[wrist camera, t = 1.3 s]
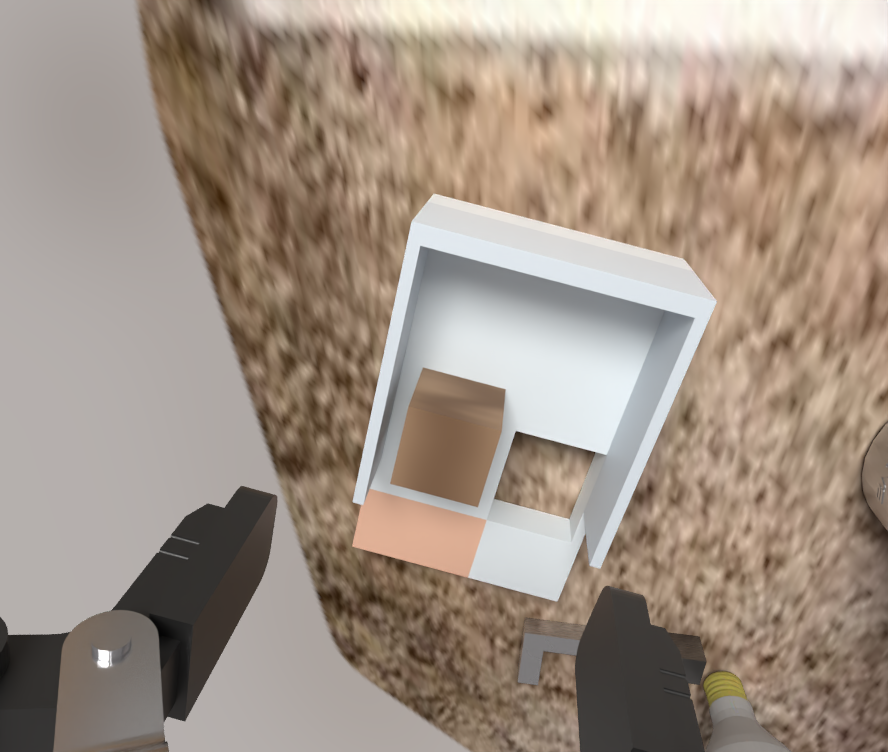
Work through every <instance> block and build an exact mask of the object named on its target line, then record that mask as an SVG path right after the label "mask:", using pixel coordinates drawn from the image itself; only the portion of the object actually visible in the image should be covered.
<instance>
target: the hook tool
mask: <svg viewBox="0 0 888 752" xmlns="http://www.w3.org/2000/svg"><path fill="white" fill-rule="evenodd" d="M585 627H586V626H585V625H578V624H570V623H563V622H555V621H548V620H540V619H533V618H525V622H524V629H523V636H522V643H521V650H520V657H519V664H518V682H519V683H526V684H533V685H538V681H539V675H540V668H541V662H542V656H543V651H547V652H554V653H562V654H569V655H577V649H578V645H579V642H580V639H581V636H582V634H583V632H584V630H585ZM668 634H669V635H670V637H671V638H672V640H673V642H674V643H675V645H676V646H677V648H678V649H679V651H680V653H681V657H682V661H683V665H684V669H685V674H686V677H685V680H687V682H688V683H691V684H698V685H700V681H701V678H702V675H703V671H704V668H705V665H706V658H705V655H704V651H703V648H702V644H701V641H700V637H698V636H691V635H683V634H675V633H668Z"/></svg>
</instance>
